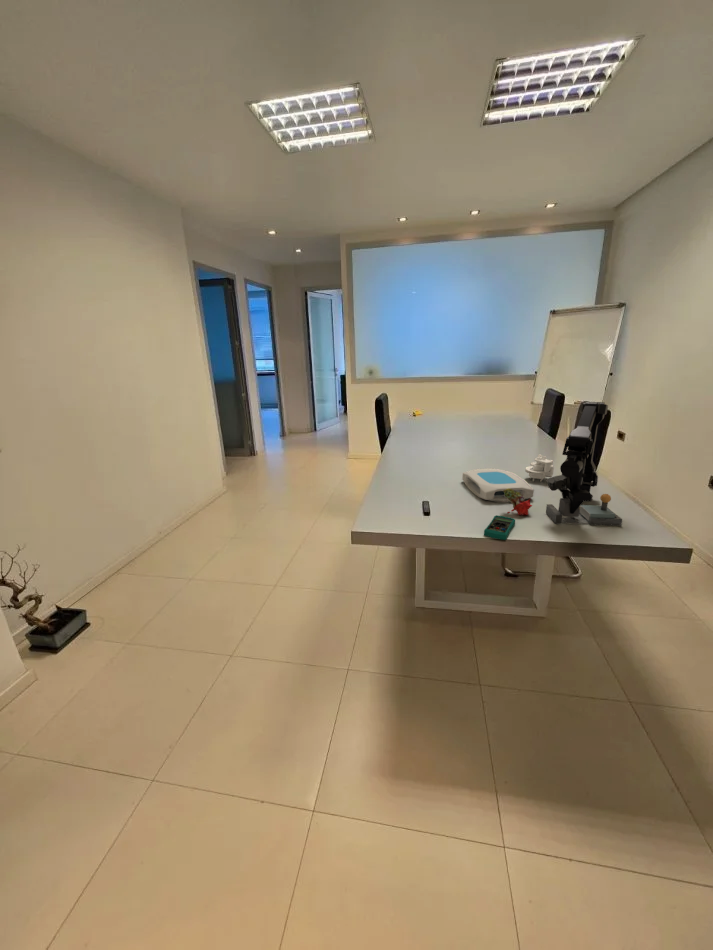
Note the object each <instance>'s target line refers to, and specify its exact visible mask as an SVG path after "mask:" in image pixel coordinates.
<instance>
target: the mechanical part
mask: <svg viewBox="0 0 713 950" xmlns="http://www.w3.org/2000/svg"><path fill="white" fill-rule="evenodd" d="M529 464H530V465H529V466H526V467H525V472H526V473H527V474H528V477H529V479H530V480H531V479H532V482H534V481H535V479H538V480H539V479H540V481H539V482H541V483H542V481H543V480H544V479H545V478H551V477H553V475H554V469H555V467H554V465H553V464H554V460H552V459H547V456H546V455H542V454H538V455H537V456H536V457H535V458H534V461H532V462H530V463H529Z"/></svg>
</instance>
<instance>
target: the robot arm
mask: <svg viewBox="0 0 713 950" xmlns="http://www.w3.org/2000/svg"><path fill="white" fill-rule="evenodd" d="M608 408H609V405H608V404H606V403H605V402H602V401H586V402H583V403H580V407H579V409H580V410H579V413H580V414H581V415H580V418H579V421H578V423H577V426H576V428H575V429H572V430H571V431H570V433H569V435H568V436H567V437H566V438H565V439H566V440H565V443H564V447H563V450H562V455H563V456H566V459H565V460H563V462H562V463H561V465H560V468H559V469H560V472H561V474H559V475H555V476H552V477H547V479H546V484H547V488H549V490H551V491H557V490H558V491H560V493H561V497H562V498H568V499H569V500H570V513H571V514H573V513H574V512H575V511H576V510H577V509H578V507H579V506H581V505H583V503H584V502H592V501H593V500H594V499H593V495H592V493H591V489H592V488H594V487H597V485H598V482H599V481H598V480H599V479H598V478H599V477H598V473H597V471H596V468H597V466H596V464H595V463H594V461H593V458H594V454H595V453H594V452H595V445H596V441H597V435H598V427H599V424H600V423H601V422H602V421H603V420H604V418H605V415H607V414H608ZM591 487H592V488H591Z"/></svg>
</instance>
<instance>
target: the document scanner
mask: <svg viewBox="0 0 713 950" xmlns="http://www.w3.org/2000/svg"><path fill="white" fill-rule="evenodd" d="M462 482H463V483H464V484H465V486H466V488H468V489H469V490H470V491H471V492H472V493H473V494H474V495H476V496H477V497H478V498H479V499H482V500H486V501H490V502H495V503H504V502H505V503H506V502H508V501H510V500H509V499H508V498H507V497H505V494H495V493H496V492H504V490H506V489H508V488H510V489H512V490H513V491H514V492H515V491H517V492H520V494H521V495H522V496H523V498H524V501H526V500H529V499H532V498H533V497H534V491H535V489H534V488H533V487H532V486H531V485H530V484H529V483H528V482H527V481H526V480H525V479H524V478H522V477H520V476H519V475H518V474H516V473H514V472H512V471H507V470H504V469H498V468H491V467H490V468H478V469H477V468H474V469H471V470H467V471H464V472H462ZM515 493H516V492H515ZM508 503H509V502H508Z"/></svg>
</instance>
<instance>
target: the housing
mask: <svg viewBox="0 0 713 950" xmlns="http://www.w3.org/2000/svg"><path fill="white" fill-rule="evenodd" d="M580 506H581V505H580ZM580 506H579V507H578V509H577V510H576V511H575V512H574V513H573V514H571V513H570V500H569V499H568V498H563V497H562V498H560V499H559V504H558V509H557V510H558V511H559V512H560V513H561V514H562V515H563V516H574V517H578V515H579V509H580Z"/></svg>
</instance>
